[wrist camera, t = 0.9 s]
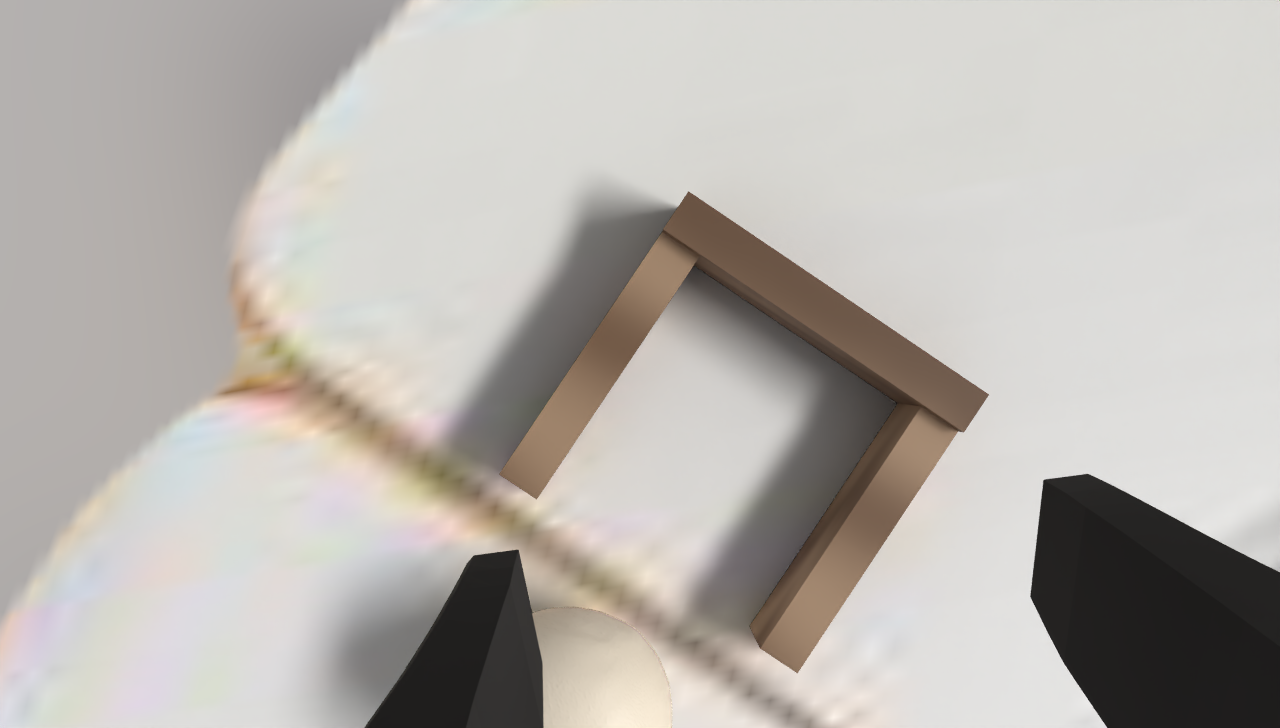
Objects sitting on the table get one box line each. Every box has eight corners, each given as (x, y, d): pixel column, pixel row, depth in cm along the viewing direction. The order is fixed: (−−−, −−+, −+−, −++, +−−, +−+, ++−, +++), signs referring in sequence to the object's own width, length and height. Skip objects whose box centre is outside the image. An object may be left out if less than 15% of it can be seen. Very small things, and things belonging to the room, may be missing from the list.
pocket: (783, 649, 32) (800, 678, 29) (508, 465, 32) (496, 476, 29) (954, 391, 32) (988, 394, 29) (682, 207, 32) (688, 191, 29)
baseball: (478, 572, 32) (441, 627, 25) (678, 598, 32) (694, 660, 25) (452, 757, 32) (407, 862, 25) (652, 784, 32) (661, 894, 25)
